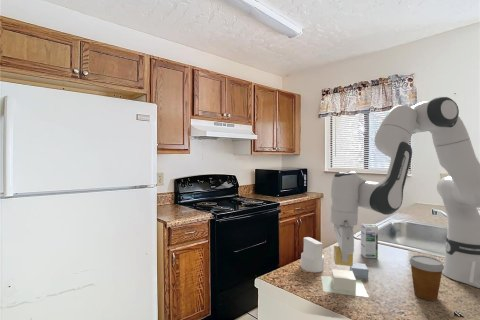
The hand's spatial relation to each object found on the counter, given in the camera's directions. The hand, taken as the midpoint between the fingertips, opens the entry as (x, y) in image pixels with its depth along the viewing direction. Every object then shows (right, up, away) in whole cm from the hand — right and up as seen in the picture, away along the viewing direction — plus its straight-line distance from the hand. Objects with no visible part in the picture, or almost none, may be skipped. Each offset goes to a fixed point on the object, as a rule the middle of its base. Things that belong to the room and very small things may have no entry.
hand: (343, 257), depth 92 cm
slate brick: (+9, -11, +9) cm, 17 cm away
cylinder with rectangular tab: (-7, -11, +15) cm, 20 cm away
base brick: (0, -10, 0) cm, 10 cm away
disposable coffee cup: (+26, -11, -4) cm, 28 cm away
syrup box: (+24, -11, +31) cm, 41 cm away
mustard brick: (0, -2, 0) cm, 2 cm away
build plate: (0, -11, 0) cm, 11 cm away
